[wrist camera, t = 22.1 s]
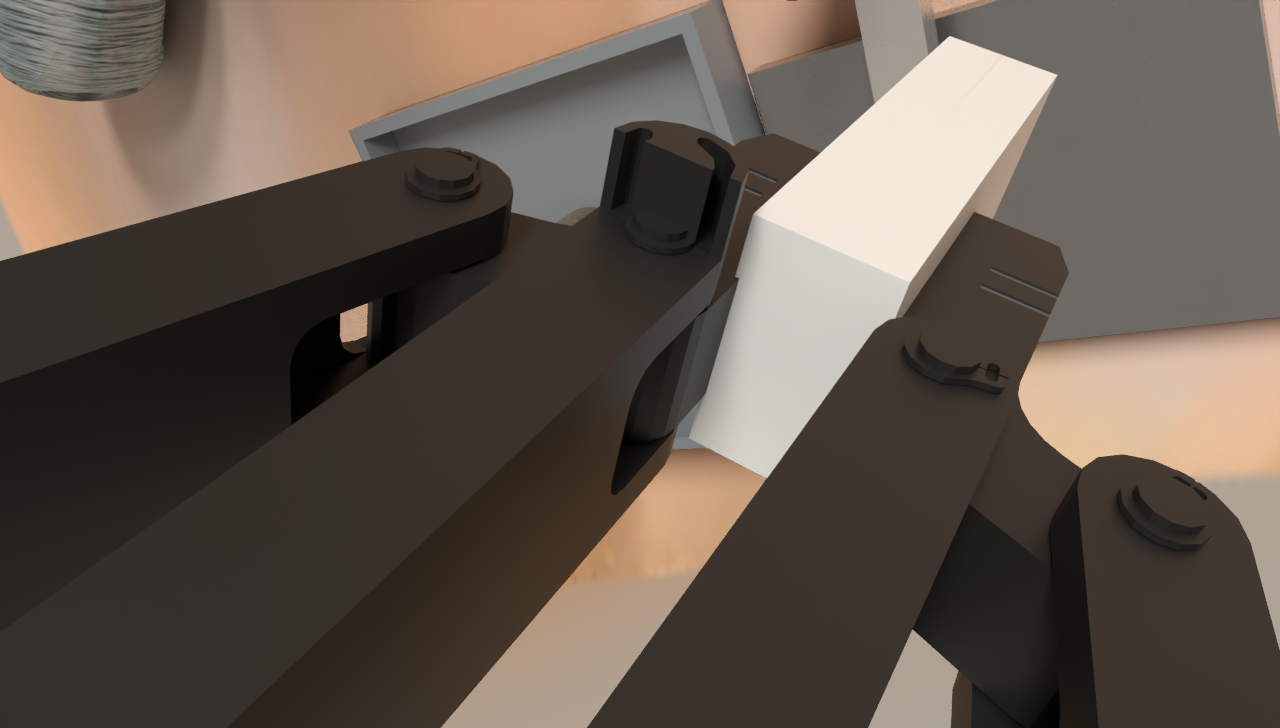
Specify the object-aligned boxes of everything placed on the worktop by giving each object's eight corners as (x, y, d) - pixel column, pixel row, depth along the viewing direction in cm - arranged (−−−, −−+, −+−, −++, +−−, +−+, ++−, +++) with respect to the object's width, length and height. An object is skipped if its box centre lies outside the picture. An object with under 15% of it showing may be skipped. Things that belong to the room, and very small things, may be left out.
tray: (384, 114, 50) (348, 131, 48) (720, -3, 39) (690, 12, 37) (527, 434, 56) (499, 459, 54) (853, 409, 45) (833, 440, 43)
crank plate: (760, 65, 40) (745, 75, 39) (1250, -80, 30) (1247, -72, 29) (850, 349, 44) (838, 365, 43) (1307, 298, 34) (1306, 317, 33)
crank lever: (987, 183, 36) (907, 297, 29) (896, 193, 38) (801, 303, 31) (921, -233, 31) (808, -212, 24) (821, -199, 33) (688, -170, 26)
